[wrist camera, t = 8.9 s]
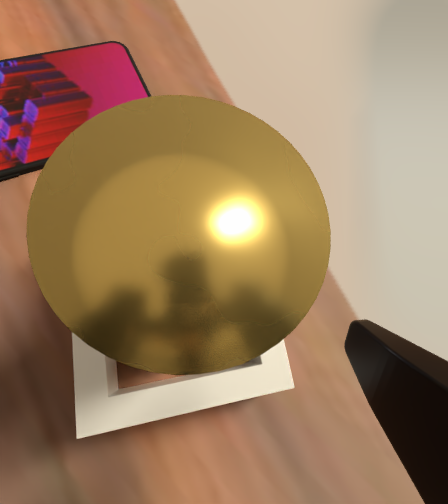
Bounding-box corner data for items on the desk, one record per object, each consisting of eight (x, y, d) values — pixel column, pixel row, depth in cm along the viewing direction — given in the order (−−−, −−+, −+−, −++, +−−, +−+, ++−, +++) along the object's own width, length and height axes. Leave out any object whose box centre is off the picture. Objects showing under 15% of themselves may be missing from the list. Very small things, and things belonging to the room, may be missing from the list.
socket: (276, 381, 16) (294, 387, 13) (93, 423, 14) (76, 439, 11) (242, 222, 18) (252, 203, 16) (82, 240, 16) (67, 222, 14)
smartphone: (168, 129, 19) (-130, 210, 14) (168, 139, 19) (-114, 218, 15) (122, 36, 20) (-158, 85, 16) (124, 49, 21) (-142, 98, 17)
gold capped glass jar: (210, 363, 15) (319, 403, 4) (122, 346, 15) (-35, 338, 4) (225, 279, 17) (338, 134, 5) (145, 261, 16) (88, 65, 5)
